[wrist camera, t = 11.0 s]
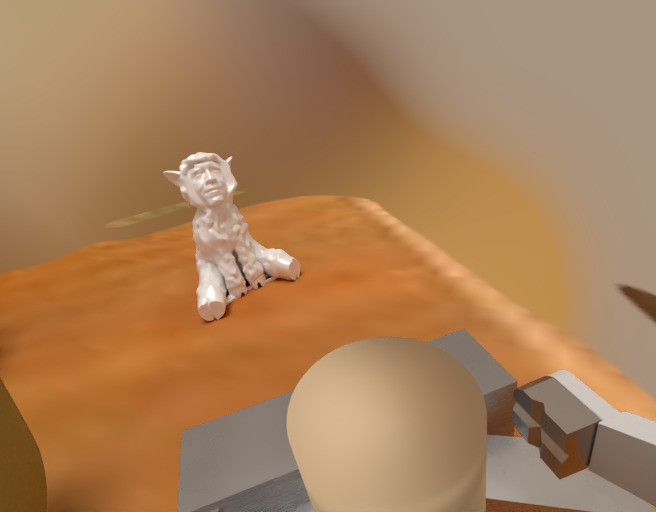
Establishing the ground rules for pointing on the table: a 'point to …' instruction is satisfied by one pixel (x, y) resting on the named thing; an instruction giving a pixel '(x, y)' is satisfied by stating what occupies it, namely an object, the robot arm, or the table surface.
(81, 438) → the table surface
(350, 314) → the table surface
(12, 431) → the flower pot
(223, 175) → the sitting furry creature
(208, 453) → the crossed grey wooden bars
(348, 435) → the dowel
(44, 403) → the table surface
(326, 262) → the table surface
